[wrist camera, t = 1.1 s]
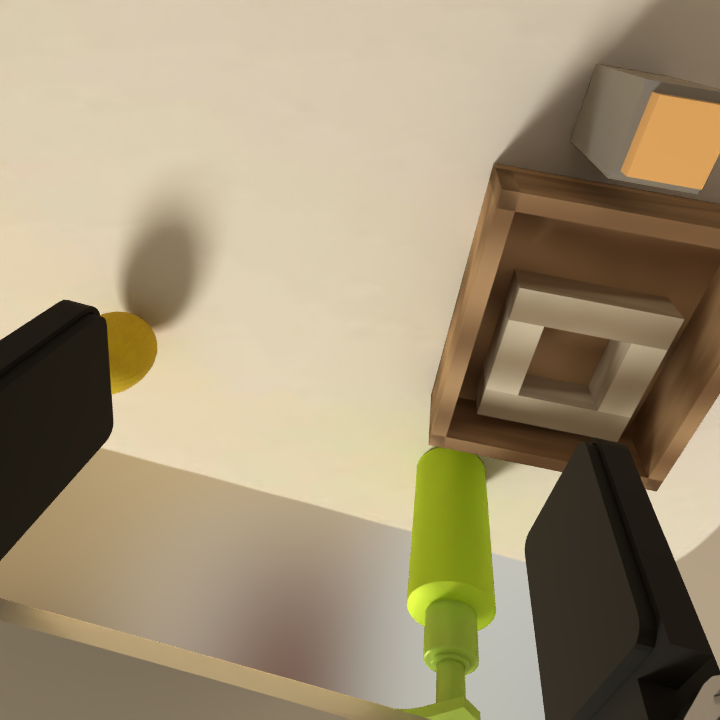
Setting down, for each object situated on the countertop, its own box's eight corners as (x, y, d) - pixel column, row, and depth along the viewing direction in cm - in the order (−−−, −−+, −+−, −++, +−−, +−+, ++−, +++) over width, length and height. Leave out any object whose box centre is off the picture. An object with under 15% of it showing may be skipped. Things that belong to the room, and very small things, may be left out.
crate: (493, 163, 33) (501, 189, 28) (757, 210, 32) (814, 246, 27) (431, 394, 43) (428, 444, 38) (631, 434, 42) (656, 491, 37)
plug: (596, 64, 29) (654, 81, 21) (669, 76, 29) (757, 99, 21) (570, 140, 31) (613, 184, 23) (638, 152, 31) (706, 200, 23)
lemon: (93, 310, 43) (28, 364, 36) (144, 284, 41) (84, 335, 34) (138, 364, 45) (83, 423, 39) (187, 341, 43) (139, 400, 37)
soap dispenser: (394, 465, 47) (363, 708, 30) (463, 435, 44) (470, 686, 28) (429, 506, 49) (418, 755, 33) (497, 481, 47) (523, 739, 30)
